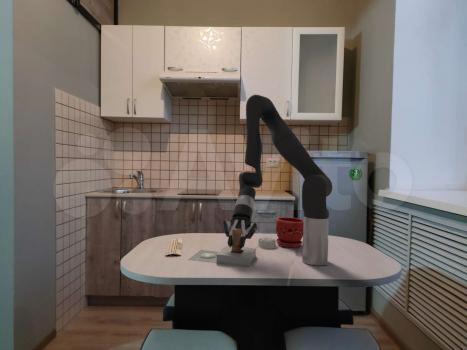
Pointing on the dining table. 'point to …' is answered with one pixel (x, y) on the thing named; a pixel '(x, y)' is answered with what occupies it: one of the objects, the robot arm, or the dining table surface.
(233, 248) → the walnut plug
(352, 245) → the dining table surface
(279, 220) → the plant pot
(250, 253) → the socket board
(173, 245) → the newspaper
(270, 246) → the mechanical component
